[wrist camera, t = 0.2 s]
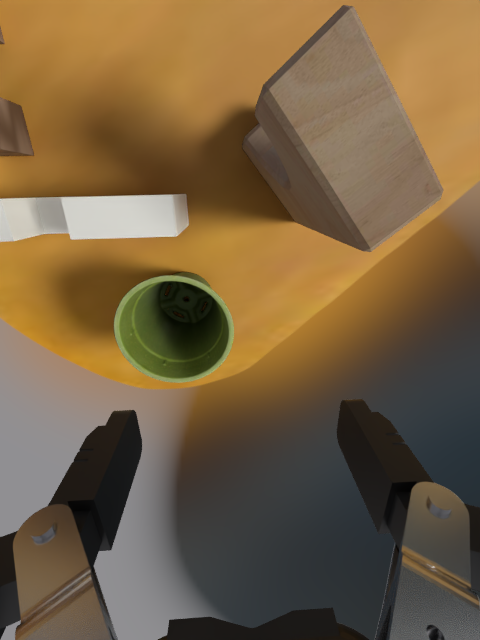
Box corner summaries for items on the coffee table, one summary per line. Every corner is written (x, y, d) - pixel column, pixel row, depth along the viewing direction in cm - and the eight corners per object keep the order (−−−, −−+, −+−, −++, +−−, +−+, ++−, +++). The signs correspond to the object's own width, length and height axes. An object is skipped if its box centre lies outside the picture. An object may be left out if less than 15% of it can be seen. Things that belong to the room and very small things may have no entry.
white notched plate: (-24, 199, 34) (-117, 201, 25) (186, 193, 35) (172, 194, 25) (-13, 230, 35) (-96, 244, 26) (188, 225, 36) (176, 236, 27)
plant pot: (231, 335, 42) (233, 381, 32) (148, 336, 42) (123, 384, 32) (231, 252, 38) (234, 275, 27) (137, 252, 37) (103, 276, 27)
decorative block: (239, 144, 33) (257, 85, 15) (280, 106, 32) (357, -11, 13) (295, 225, 37) (365, 258, 18) (333, 194, 35) (450, 196, 17)
